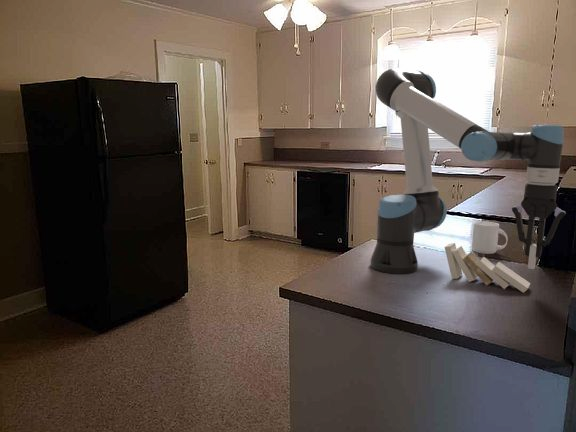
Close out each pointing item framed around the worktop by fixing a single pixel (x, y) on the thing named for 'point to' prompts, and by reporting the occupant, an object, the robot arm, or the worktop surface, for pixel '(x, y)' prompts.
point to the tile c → (491, 272)
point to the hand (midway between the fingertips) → (531, 267)
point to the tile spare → (477, 268)
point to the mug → (486, 237)
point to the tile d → (511, 277)
